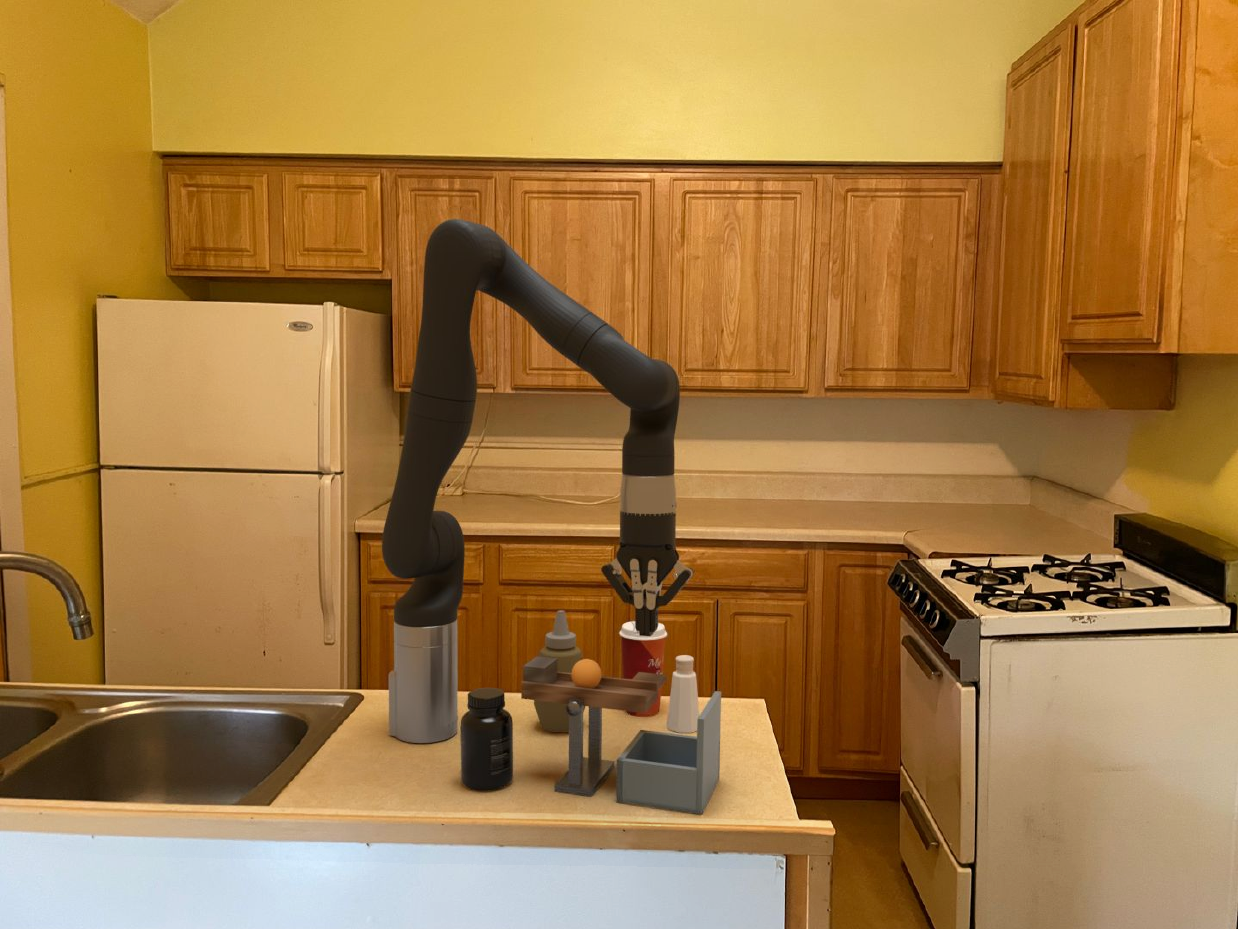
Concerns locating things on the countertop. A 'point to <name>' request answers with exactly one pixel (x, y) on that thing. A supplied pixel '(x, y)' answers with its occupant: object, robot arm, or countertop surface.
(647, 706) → the lever
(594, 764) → the pivot stand
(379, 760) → the countertop surface
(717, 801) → the countertop surface
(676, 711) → the salt shaker
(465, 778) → the supplement bottle
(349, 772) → the countertop surface
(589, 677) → the ball
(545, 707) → the squeeze bottle
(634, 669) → the paper cup
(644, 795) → the cup
